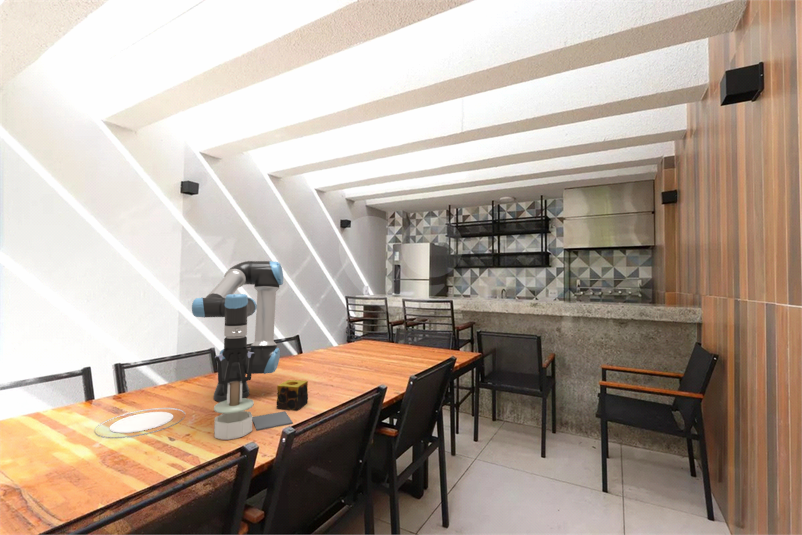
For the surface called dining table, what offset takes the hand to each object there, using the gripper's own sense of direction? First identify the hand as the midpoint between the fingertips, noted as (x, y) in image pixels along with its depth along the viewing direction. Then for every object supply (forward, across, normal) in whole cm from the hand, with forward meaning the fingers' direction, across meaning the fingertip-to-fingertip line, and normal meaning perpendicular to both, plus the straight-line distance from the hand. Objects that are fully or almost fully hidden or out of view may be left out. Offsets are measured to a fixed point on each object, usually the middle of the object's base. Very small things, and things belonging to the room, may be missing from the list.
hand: (234, 401), depth 128 cm
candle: (+12, +25, +16) cm, 32 cm away
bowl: (+11, 0, 0) cm, 11 cm away
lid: (+2, 0, 0) cm, 2 cm away
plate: (+12, -30, +26) cm, 41 cm away
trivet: (+11, +14, +4) cm, 18 cm away
